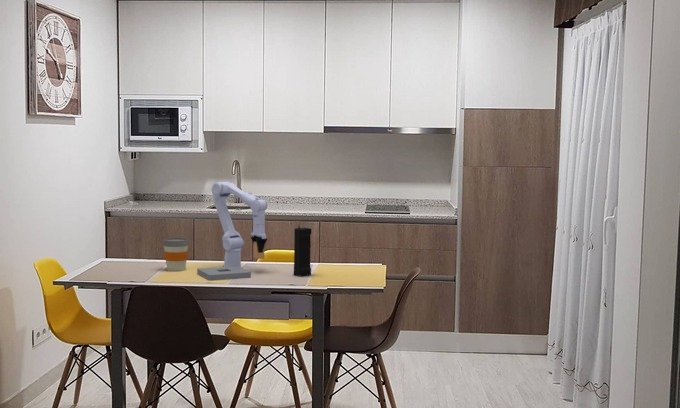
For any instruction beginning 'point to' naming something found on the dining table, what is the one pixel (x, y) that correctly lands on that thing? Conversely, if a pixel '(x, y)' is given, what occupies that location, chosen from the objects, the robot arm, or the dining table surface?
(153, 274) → the dining table surface
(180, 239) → the reusable coffee cup
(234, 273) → the socket plate
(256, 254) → the plug
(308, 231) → the portable radio
